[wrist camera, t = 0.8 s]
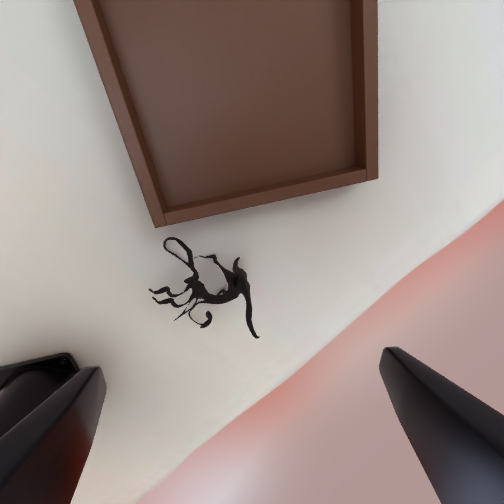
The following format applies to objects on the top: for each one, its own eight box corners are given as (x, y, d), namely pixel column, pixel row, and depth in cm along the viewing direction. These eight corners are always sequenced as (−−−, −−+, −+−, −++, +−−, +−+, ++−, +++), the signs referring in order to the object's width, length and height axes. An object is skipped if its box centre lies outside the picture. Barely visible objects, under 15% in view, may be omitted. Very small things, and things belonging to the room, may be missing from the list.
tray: (160, 218, 20) (154, 228, 18) (72, -39, 14) (49, -66, 12) (363, 173, 20) (378, 178, 18) (356, -94, 14) (377, -128, 13)
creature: (174, 319, 24) (265, 310, 23) (148, 370, 20) (260, 362, 18) (142, 236, 21) (245, 220, 20) (100, 273, 16) (233, 255, 15)
